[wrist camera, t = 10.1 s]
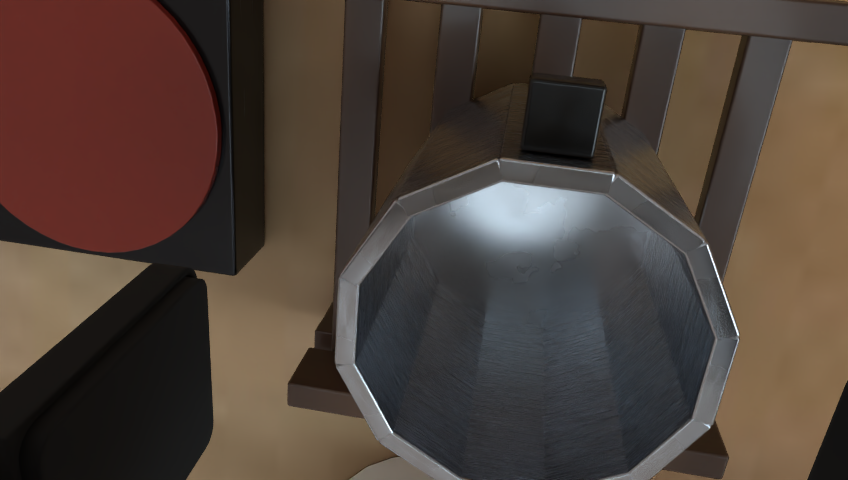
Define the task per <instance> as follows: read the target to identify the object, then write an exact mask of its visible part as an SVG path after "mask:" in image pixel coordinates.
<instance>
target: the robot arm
mask: <svg viewBox="0 0 848 480" xmlns="http://www.w3.org/2000/svg"><path fill="white" fill-rule="evenodd" d="M212 430H213V403H212V382H211V361H210V340H209V319H208V299H207V286H206V283H205V281H204V280H203V279H198V278H197V276H196V273H195V271H194V270H193V269H192V268H188V267H181V266H174V265H167V264H160V263H153V264H151V265H150V266H148V267H147V268H146V269H145V270H144V271H142V272H141V273H140V274H139V275H138V276H137V277H135V278H134V279H133V280H132V281H131V282H130V283H128V284H127V285H126V286H125V287H124V288H122V289H121V290H120V291H119V292H118V293H117V294H115V295H114V296H113V297H112V298H111V299H109V300H108V301H107V302H106V303H105V304H104V305H102V306H101V307H100V308H99V309H98V310H97V311H95V312H94V313H93V314H92V315H91V316H89V317H88V318H87V319H86V320H85V321H84V322H82V323H81V324H80V325H79V326H78V327H76V328H75V329H74V330H73V331H72V332H71V333H69V334H68V335H67V336H66V337H65V338H64V339H62V340H61V341H60V342H59V343H58V344H56V345H55V346H54V347H53V348H52V349H51V350H49V351H48V352H47V353H46V354H45V355H43V356H42V357H41V358H40V359H39V360H38V361H36V362H35V363H34V364H33V365H32V366H31V367H29V368H28V369H27V370H26V371H25V372H23V373H22V374H21V375H20V376H19V377H18V378H16V379H15V380H14V381H13V382H12V383H10V384H9V385H8V386H7V387H6V388H5V389H3V390H2V391H1V392H0V480H186V478H187V477H188V475H189V474H190V472H191V471H192V469H193V468H194V466H195V464H196V463H197V461H198V460H199V458H200V457H201V455H202V453H203V452H204V450H205V449H206V447H207V445H208V443H209V441H210V438H211V435H212ZM807 480H848V381H847V383H846V385H845V387H844V390H843V392H842V395H841V397H840V400H839V402H838V405H837V407H836V410H835V412H834V415H833V417H832V420H831V422H830V425H829V427H828V430H827V432H826V435H825V437H824V440H823V442H822V445H821V447H820V450H819V452H818V455H817V457H816V460H815V462H814V465H813V467H812V469H811V472H810V474H809V477H808V479H807Z"/></svg>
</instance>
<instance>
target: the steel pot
mask: <svg viewBox="0 0 848 480" xmlns="http://www.w3.org/2000/svg"><path fill="white" fill-rule="evenodd" d="M606 93H607V87H606V85H605V83H604V81H602V80H598V79H589V78H581V77H572V76H563V75H554V74H545V73H536V72H535V73H532V74H531V75H530V79H529V84H524V83H514V84H513V83H511V84H509V85H506V86H504V87H502V88H499V89H497V90H495V91H492V92H490V93H488V94H486V95H483V96H481V97H479V98H476V99H474V100H472V101H469V102H467V103H465V104H462V105H460V106H458V107H455V108H453V109H451V110H449V111H448V112H447V113H445V115H444V116H443V117H442V119H441V120H440V121H439V123H438V124H437V126H436V127H435V128H434V130H433V131H432V132H431V134H430V135H429V137H428V138H427V139H426V141H425V142H424V143H423V145H422V146H421V148H420V149H419V150H418V152H417V153H416V154H415V156H414V157H413V159H412V160H411V161H410V163H409V164H408V166H407V167H406V169H405V170H404V172H403V174H402V175H401V177H400V178H399V180H398V182H397V183H396V185H395V186H394V188H393V190H392V191H391V193H390V194H389V196H388V198H387V199H386V201H385V203H384V204H383V206H382V207H381V209H380V211H379V212H378V214H377V215H376V217H375V219H374V220H373V222H372V223H371V225H370V227H369V228H368V230H367V231H366V233H365V235H364V236H363V238H362V239H361V241H360V243H359V244H358V246H357V247H356V249H355V251H354V252H353V254H352V255H351V257H350V259H349V260H348V262H347V263H346V265H345V267H344V268H343V270H342V271H341V273H340V277H339V279H338V295H337V319H336V343H335V364H336V368H337V370H338V372H339V373H340V375H341V377H342V379H343V381H344V382H345V384H346V386H347V388H348V389H349V391H350V393H351V395H352V397H353V398H354V400H355V402H356V404H357V406H358V407H359V409H360V411H361V413H362V414H363V416H364V418H365V420H366V422H367V423H368V425H369V427H370V429H371V430H372V432H373V434H374V436H375V438H376V439H377V440H379V442H380V444H382V445H383V446H385V447H386V448H388V449H389V450H391V451H392V452H394V453H395V454H397V455H398V456H400V457H401V458H403V459H404V460H406V461H407V462H409V463H410V464H412V465H413V466H415V467H416V468H418V469H419V470H421V471H422V472H424V473H425V474H427V475H428V476H430V477H431V478H433V479H434V480H650V479H651V478H652V477H654V476H655V475H656V474H657V473H658V472H659V471H661V470H662V469H663V468H664V467H665V466H667V465H668V464H669V463H670V462H671V461H673V460H674V459H675V458H676V457H677V456H678V455H680V454H681V453H682V452H683V451H684V450H686V449H687V448H688V447H689V446H690V445H691V444H693V443H694V442H695V441H696V440H697V439H699V438H700V437H701V436H702V435H703V434H705V433H706V432H707V431H708V430H709V429H710V428H711V425H713V424H714V421H715V417H716V414H717V411H718V408H719V405H720V401H721V398H722V395H723V392H724V388H725V385H726V382H727V379H728V375H729V372H730V369H731V366H732V363H733V359H734V356H735V353H736V350H737V346H738V343H739V340H740V338H739V334H740V332H739V329H738V327H737V324H736V321H735V318H734V315H733V312H732V309H731V306H730V304H729V301H728V298H727V295H726V292H725V289H724V286H723V283H722V280H721V278H720V275H719V272H718V269H717V266H716V263H715V260H714V257H713V255H712V252H711V249H710V246H709V243H708V242H707V240H706V238H705V236H704V235H703V233H702V231H701V230H700V228H699V226H698V224H697V223H696V221H695V219H694V218H693V216H692V214H691V213H690V211H689V209H688V207H687V206H686V204H685V202H684V201H683V199H682V197H681V196H680V194H679V192H678V190H677V189H676V187H675V185H674V184H673V182H672V180H671V178H670V177H669V175H668V173H667V172H666V170H665V168H664V167H663V165H662V163H661V161H660V160H659V158H658V156H657V155H656V153H655V151H654V150H653V148H652V146H651V144H650V143H649V141H648V139H647V138H646V136H645V135H644V134H643V133H642V132H641V131H640V130H638V129H637V128H636V127H634V126H633V125H632V124H630V123H629V122H628V121H627V120H625V119H624V118H623V117H621V116H620V115H619V114H617V113H616V112H615V111H613V110H612V109H611V108H610V107H608V106H607V105H606V104H605V99H606Z"/></svg>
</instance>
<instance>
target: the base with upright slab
mask: <svg viewBox="0 0 848 480" xmlns="http://www.w3.org/2000/svg"><path fill="white" fill-rule="evenodd" d="M349 480H434V479H433V478H431V477H430V476H428V475H427V474H425V473H424V472H422V471H421V470H419V469H418V468H416V467H415V466H413V465H412V464H410V463H409V462H407V461H406V460H404V459H403V458H401V457H394V458H390V459H388V460H385V461H382V462H379V463H376V464H374V465H371V466H368V467H366V468H364V469H363V470H362V471H360V472H359V473H357V474H356V475H355V476H353V477H352V478H350V479H349Z"/></svg>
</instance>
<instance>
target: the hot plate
mask: <svg viewBox="0 0 848 480" xmlns="http://www.w3.org/2000/svg"><path fill="white" fill-rule="evenodd" d="M221 140H222V130H221V119H220V111H219V107H218V102H217V97H216V93H215V90H214V87H213V84H212V81H211V78H210V75H209V73H208V71H207V69H206V67H205V64H204V62H203V60H202V58H201V56H200V54H199V52H198V51H197V49H196V48H195V46H194V44H193V43H192V41H191V39H190V38H189V36H188V35H187V34H186V32H185V31H184V30H183V28H182V27H181V26H180V25H179V23H178V22H177V21H176V19H175V18H174V17H173V16H172V15H171V14H170V13H169V12H168V11H167V10H166V9H165V8H164V7H163V6H162V5H161V4H160V3H159V2H158V1H157V0H0V204H1V205H2V206H3V207H5V208H6V209H7V210H8V211H9V212H10V213H11V214H12V215H14V216H15V217H16V218H18V219H19V220H21V221H22V222H23V223H25V224H26V225H27V226H29V227H31V228H32V229H34V230H36V231H37V232H39V233H41V234H43V235H45V236H47V237H49V238H51V239H53V240H55V241H58V242H60V243H63V244H66V245H69V246H72V247H75V248H79V249H84V250H89V251H96V252H107V253H112V252H128V251H133V250H139V249H143V248H145V247H148V246H151V245H154V244H157V243H159V242H160V241H162V240H164V239H166V238H168V237H170V236H171V235H173V234H174V233H175V232H177V231H178V230H179V229H181V228H182V227H183V226H185V225H186V224H187V223H188V222H189V221H190V220H191V219H192V218H193V217H194V215H195V214H196V213H197V212H198V211H199V209H200V208H201V206H202V205H203V203H204V202H205V201H206V199H207V197H208V194H209V192H210V190H211V188H212V186H213V184H214V181H215V177H216V174H217V171H218V167H219V161H220V155H221Z"/></svg>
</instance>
